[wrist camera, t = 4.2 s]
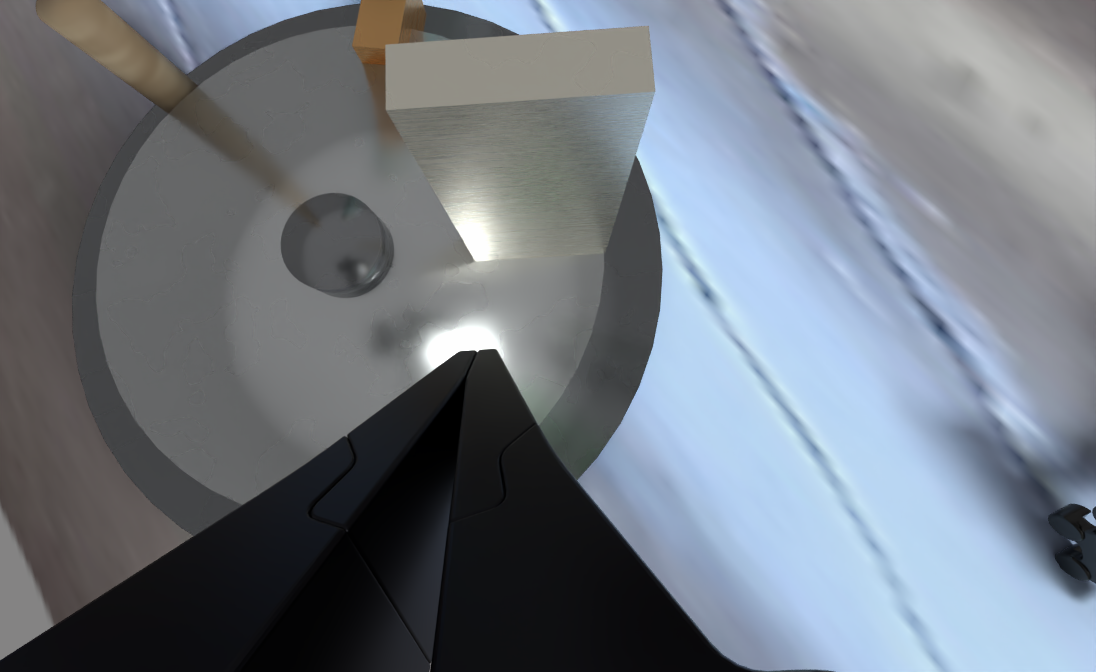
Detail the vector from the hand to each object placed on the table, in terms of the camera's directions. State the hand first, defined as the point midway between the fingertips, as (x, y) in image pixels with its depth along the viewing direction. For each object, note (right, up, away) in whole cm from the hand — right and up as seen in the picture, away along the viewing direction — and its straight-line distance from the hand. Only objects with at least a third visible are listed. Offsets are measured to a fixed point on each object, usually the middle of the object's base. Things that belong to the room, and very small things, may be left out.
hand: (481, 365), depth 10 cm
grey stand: (-7, +5, +11) cm, 14 cm away
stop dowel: (-17, +12, +13) cm, 24 cm away
